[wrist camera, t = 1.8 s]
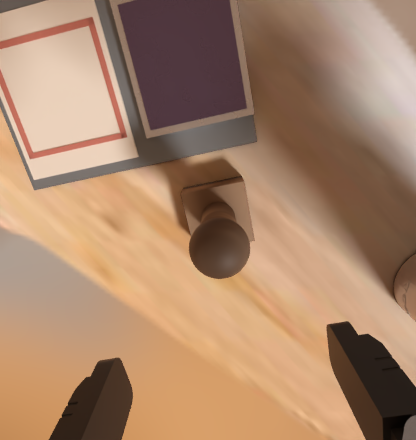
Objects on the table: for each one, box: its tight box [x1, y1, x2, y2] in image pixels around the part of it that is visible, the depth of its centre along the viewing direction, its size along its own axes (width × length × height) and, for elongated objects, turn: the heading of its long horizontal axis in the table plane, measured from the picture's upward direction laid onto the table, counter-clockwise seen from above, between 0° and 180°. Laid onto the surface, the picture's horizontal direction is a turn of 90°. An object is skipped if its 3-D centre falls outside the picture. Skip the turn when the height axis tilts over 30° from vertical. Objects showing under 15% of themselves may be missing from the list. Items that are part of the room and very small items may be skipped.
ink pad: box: [109, 0, 254, 138], centre depth 25 cm, size 10×11×2 cm
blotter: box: [0, 0, 257, 190], centre depth 26 cm, size 23×16×1 cm
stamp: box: [181, 176, 255, 279], centre depth 25 cm, size 6×6×12 cm
